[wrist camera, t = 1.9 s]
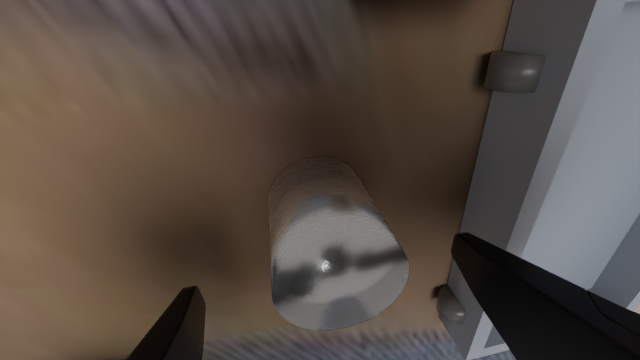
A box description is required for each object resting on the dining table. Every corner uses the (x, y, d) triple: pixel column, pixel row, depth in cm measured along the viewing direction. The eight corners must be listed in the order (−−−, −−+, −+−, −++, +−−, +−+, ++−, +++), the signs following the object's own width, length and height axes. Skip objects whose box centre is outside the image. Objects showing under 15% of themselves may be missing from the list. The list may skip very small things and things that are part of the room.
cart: (595, 280, 22) (640, 315, 19) (426, 320, 20) (450, 364, 17) (806, -49, 11) (966, -69, 9) (494, -23, 10) (578, -38, 7)
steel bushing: (361, 226, 14) (403, 314, 10) (276, 242, 14) (283, 341, 10) (360, 149, 12) (415, 219, 8) (259, 164, 12) (259, 249, 7)
